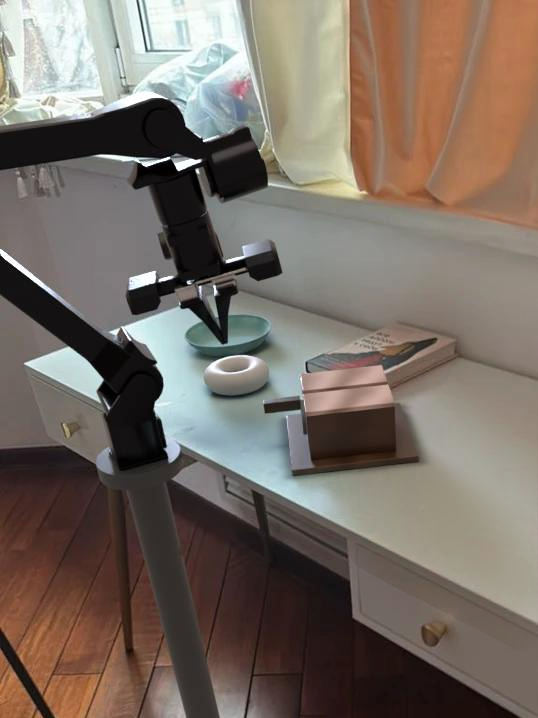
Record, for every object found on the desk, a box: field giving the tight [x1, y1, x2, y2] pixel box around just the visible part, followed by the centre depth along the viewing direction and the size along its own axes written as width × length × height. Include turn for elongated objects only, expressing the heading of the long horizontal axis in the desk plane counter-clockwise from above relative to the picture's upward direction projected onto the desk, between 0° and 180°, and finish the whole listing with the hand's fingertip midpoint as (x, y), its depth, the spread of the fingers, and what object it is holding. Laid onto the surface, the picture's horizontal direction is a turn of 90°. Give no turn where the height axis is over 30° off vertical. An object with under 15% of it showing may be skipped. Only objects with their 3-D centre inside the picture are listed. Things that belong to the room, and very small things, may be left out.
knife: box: [262, 395, 307, 435], centre depth 110 cm, size 16×1×5 cm, turn 95°
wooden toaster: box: [286, 364, 420, 476], centre depth 111 cm, size 16×16×7 cm
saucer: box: [183, 313, 273, 357], centre depth 143 cm, size 15×15×3 cm
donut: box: [203, 354, 270, 396], centre depth 129 cm, size 10×4×10 cm
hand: (224, 342), depth 108 cm, fingers closed
